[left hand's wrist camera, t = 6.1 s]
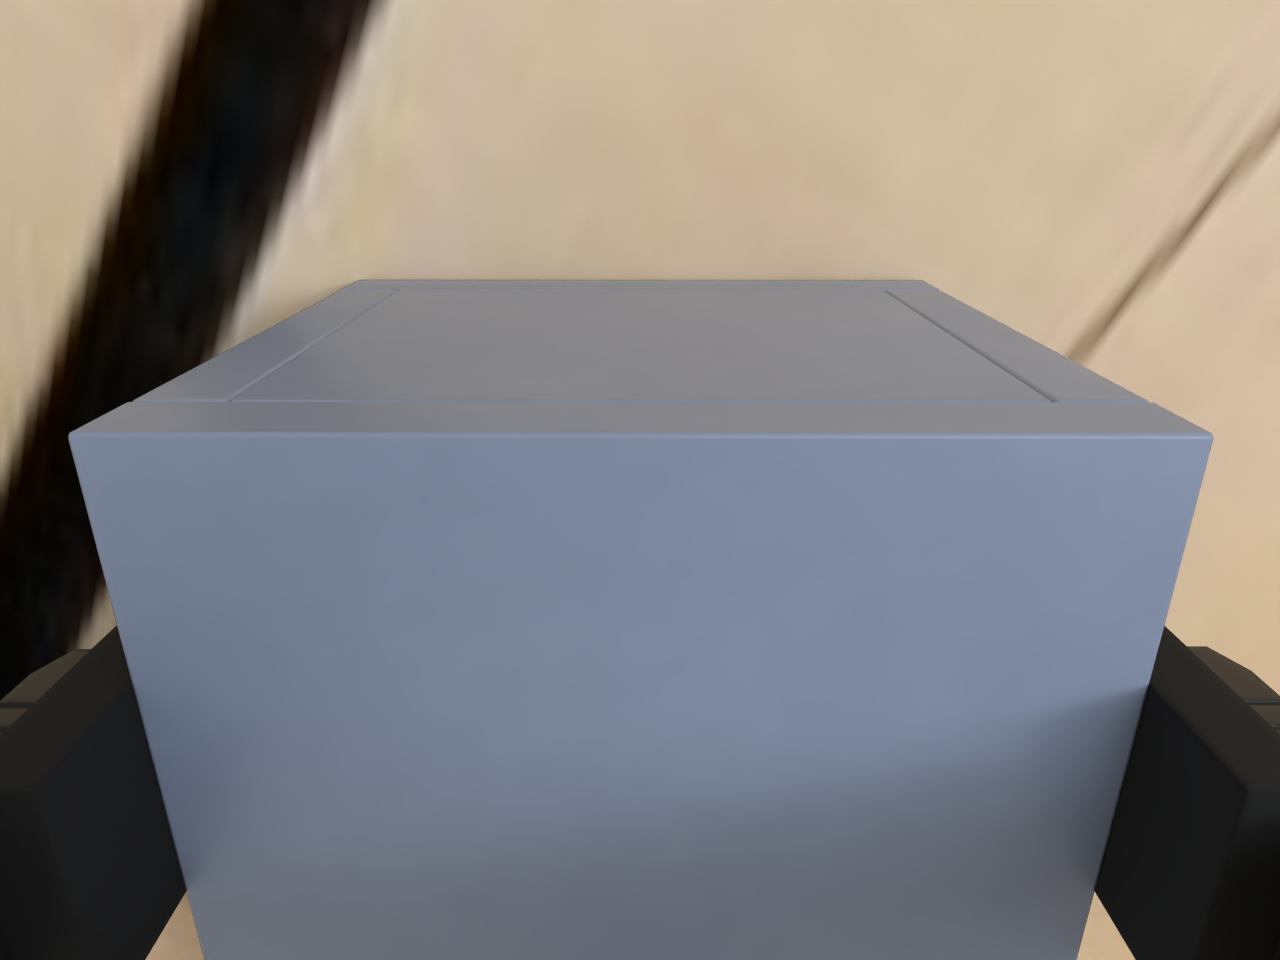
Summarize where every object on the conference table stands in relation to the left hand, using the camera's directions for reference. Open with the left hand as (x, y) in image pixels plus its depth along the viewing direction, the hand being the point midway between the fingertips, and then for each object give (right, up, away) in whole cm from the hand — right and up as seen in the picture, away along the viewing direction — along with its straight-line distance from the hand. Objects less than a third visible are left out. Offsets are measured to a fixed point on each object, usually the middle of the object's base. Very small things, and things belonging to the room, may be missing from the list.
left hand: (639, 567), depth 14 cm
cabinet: (0, -5, +6) cm, 8 cm away
